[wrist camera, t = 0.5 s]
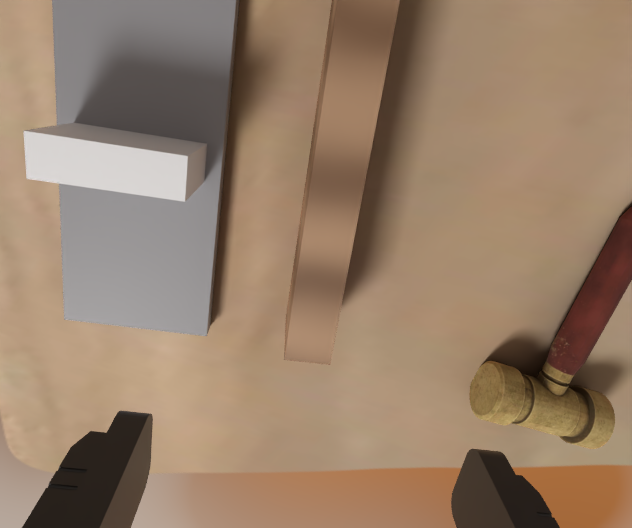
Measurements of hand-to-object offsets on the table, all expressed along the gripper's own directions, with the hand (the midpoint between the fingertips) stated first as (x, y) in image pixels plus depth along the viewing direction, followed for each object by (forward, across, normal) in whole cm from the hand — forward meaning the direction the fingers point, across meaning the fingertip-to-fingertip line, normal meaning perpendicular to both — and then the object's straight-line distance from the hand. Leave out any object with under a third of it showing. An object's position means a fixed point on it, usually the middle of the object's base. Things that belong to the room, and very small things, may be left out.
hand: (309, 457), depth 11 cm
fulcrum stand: (+22, +11, -3) cm, 25 cm away
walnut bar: (+22, -1, -4) cm, 23 cm away
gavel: (+23, -22, +4) cm, 32 cm away
